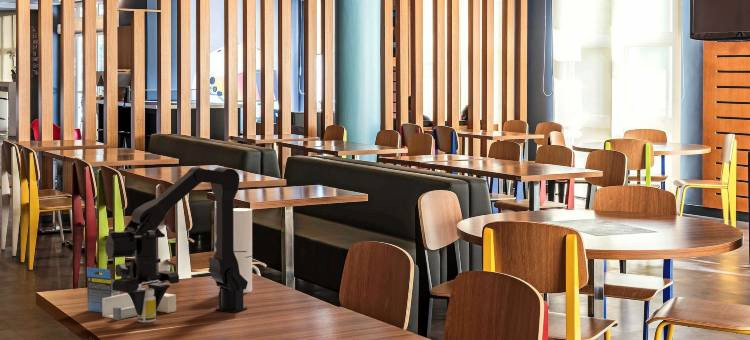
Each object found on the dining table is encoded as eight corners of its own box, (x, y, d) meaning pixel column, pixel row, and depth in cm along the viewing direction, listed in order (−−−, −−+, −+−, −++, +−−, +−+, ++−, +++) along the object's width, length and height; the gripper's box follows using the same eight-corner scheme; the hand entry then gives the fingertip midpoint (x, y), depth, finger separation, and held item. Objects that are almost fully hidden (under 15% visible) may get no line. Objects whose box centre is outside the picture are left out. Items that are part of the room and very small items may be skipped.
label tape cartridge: (120, 311, 291) (120, 267, 290) (111, 314, 288) (110, 269, 287) (96, 308, 295) (96, 264, 294) (86, 311, 292) (85, 266, 291)
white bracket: (180, 310, 294) (180, 292, 294) (127, 322, 278) (126, 303, 278) (154, 305, 300) (154, 287, 300) (100, 316, 284) (100, 298, 284)
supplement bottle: (158, 319, 282) (158, 288, 281) (152, 323, 277) (152, 291, 277) (140, 318, 282) (140, 287, 282) (135, 322, 278) (134, 290, 277)
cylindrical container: (225, 289, 324) (225, 208, 322) (247, 288, 327) (247, 207, 325) (232, 293, 318) (232, 211, 316) (255, 292, 321) (255, 210, 319)
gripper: (151, 248, 291) (152, 303, 292) (97, 256, 276) (98, 315, 277) (180, 251, 284) (180, 309, 286) (126, 260, 269) (127, 321, 270)
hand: (146, 313), depth 280 cm, fingers closed on supplement bottle, 5 cm apart
